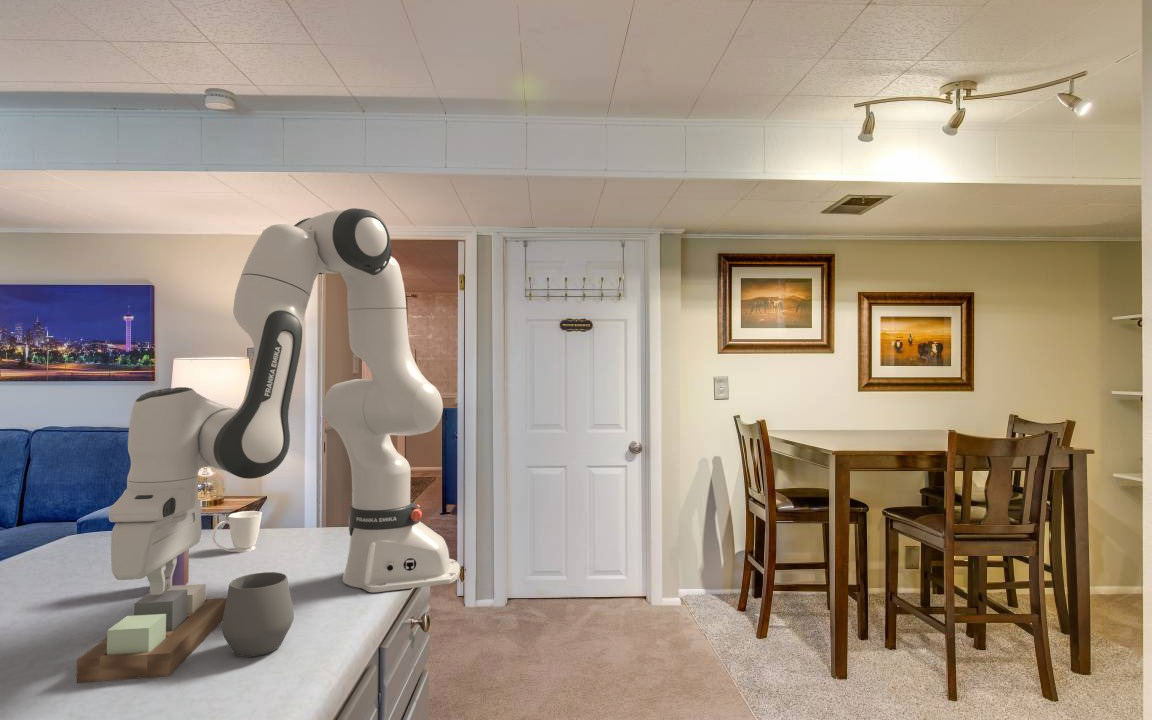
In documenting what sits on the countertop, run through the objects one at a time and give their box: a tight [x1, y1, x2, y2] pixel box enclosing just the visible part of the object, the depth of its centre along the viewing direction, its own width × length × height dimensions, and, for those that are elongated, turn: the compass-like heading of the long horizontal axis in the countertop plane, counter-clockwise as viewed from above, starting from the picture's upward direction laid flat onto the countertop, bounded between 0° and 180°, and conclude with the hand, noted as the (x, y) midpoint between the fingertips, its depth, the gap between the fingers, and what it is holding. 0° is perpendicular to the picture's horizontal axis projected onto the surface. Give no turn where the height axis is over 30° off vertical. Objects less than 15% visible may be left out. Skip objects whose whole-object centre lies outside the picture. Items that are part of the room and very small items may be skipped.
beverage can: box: [172, 548, 190, 586], centre depth 119 cm, size 6×6×15 cm
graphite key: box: [133, 590, 187, 632], centre depth 94 cm, size 5×5×4 cm
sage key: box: [106, 614, 166, 655], centre depth 87 cm, size 5×5×4 cm
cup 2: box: [220, 571, 295, 658], centre depth 93 cm, size 10×9×10 cm
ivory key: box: [166, 583, 207, 613], centre depth 101 cm, size 5×5×4 cm
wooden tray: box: [76, 597, 227, 683], centre depth 94 cm, size 11×21×3 cm, turn 10°
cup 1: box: [212, 510, 263, 553], centre depth 143 cm, size 7×10×8 cm
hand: (160, 591), depth 94 cm, fingers closed
